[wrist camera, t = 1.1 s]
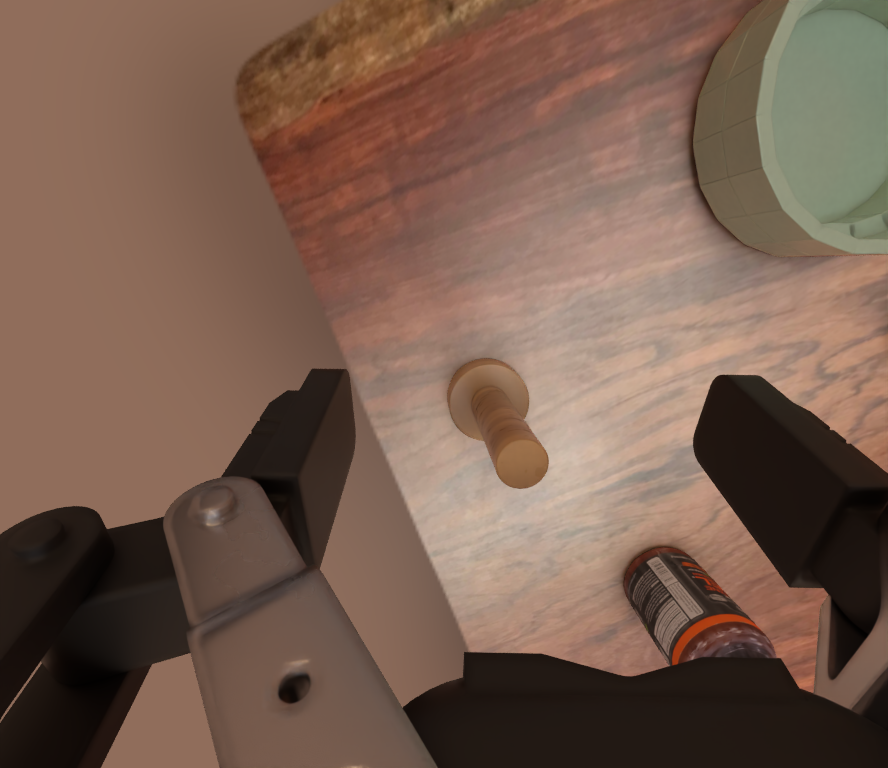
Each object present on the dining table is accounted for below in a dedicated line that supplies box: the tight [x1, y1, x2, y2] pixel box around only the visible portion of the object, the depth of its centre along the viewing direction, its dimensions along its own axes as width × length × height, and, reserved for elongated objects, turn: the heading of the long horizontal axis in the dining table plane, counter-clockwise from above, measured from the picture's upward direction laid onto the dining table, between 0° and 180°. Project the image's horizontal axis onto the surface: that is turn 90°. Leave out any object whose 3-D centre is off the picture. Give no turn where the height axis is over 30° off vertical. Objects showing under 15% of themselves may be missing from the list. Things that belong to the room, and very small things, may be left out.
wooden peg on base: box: [447, 358, 549, 489], centre depth 26 cm, size 5×5×12 cm
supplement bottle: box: [624, 547, 776, 666], centre depth 30 cm, size 6×6×11 cm
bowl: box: [693, 0, 888, 257], centre depth 26 cm, size 16×16×6 cm
